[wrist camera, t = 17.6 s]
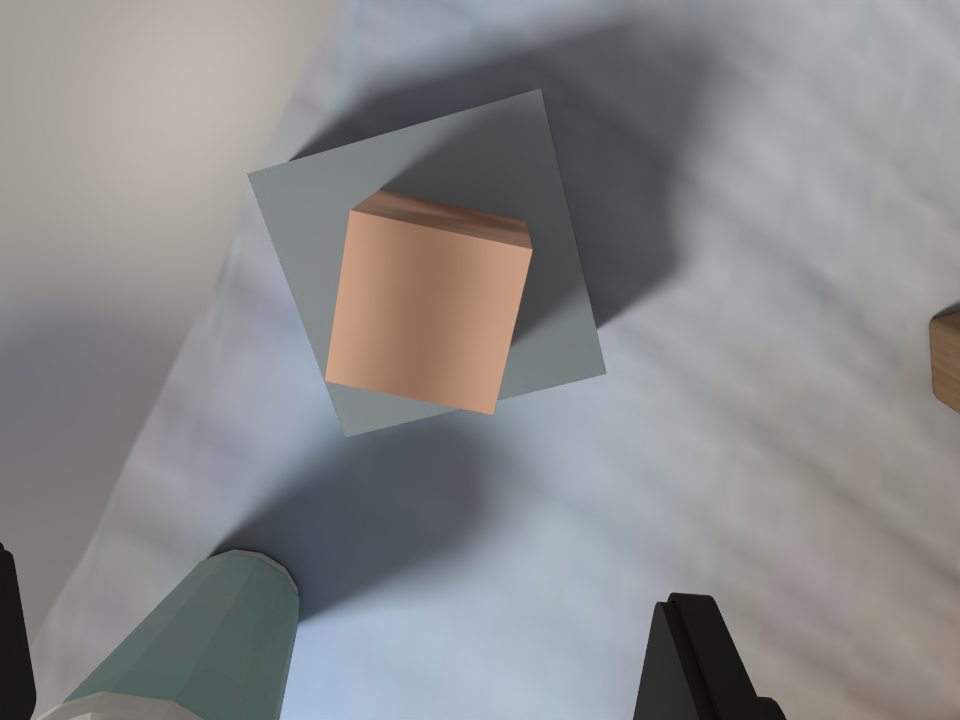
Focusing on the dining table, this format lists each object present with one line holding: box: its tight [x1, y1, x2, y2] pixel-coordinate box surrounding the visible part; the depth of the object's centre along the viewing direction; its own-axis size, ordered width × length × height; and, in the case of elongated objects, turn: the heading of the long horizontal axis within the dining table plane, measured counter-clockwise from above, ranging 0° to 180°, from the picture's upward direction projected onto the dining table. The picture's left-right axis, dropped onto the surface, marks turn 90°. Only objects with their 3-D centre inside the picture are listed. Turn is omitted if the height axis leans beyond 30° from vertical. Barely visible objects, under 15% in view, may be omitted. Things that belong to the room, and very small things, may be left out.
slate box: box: [247, 88, 607, 438], centre depth 32 cm, size 12×12×6 cm
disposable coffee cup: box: [37, 549, 300, 720], centre depth 35 cm, size 11×11×15 cm
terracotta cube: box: [325, 190, 533, 415], centre depth 27 cm, size 6×6×6 cm
